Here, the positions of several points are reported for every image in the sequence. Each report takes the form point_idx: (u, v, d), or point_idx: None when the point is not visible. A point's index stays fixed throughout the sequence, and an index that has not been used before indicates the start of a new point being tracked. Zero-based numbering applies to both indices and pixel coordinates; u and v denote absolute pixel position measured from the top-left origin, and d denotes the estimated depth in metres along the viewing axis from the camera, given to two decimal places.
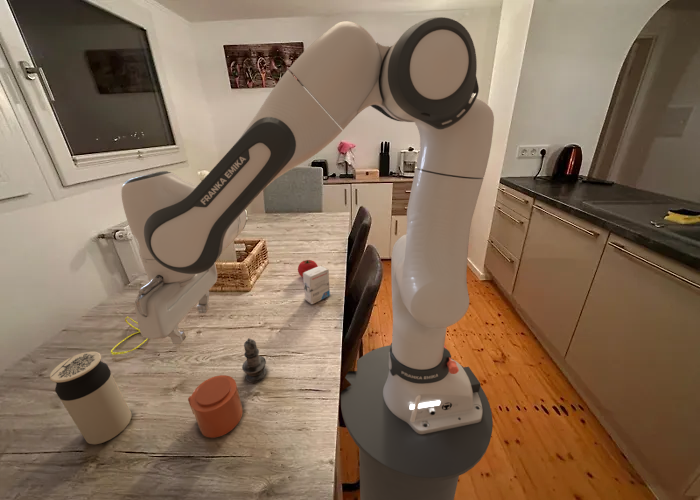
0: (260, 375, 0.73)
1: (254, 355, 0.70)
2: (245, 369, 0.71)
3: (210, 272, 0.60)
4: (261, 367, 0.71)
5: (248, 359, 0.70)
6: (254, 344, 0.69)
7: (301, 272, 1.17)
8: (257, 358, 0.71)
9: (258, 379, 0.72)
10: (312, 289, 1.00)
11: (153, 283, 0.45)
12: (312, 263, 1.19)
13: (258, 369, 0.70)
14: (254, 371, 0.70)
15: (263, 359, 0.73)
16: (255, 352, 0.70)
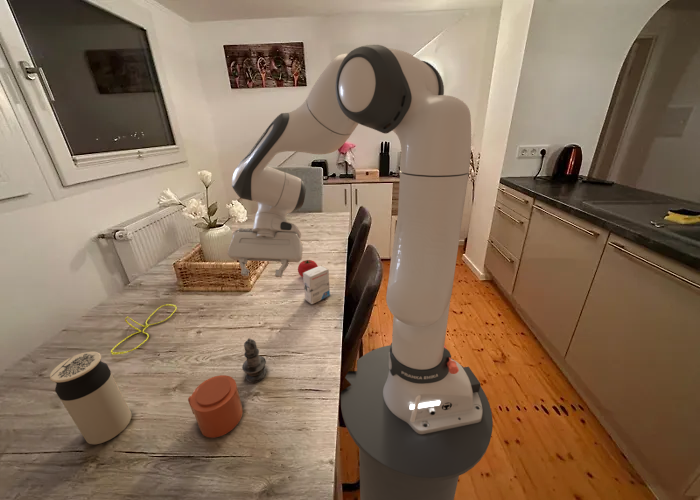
0: (260, 375, 0.73)
1: (254, 355, 0.70)
2: (245, 369, 0.71)
3: (291, 246, 0.75)
4: (261, 367, 0.71)
5: (248, 359, 0.70)
6: (254, 344, 0.69)
7: (301, 272, 1.17)
8: (257, 358, 0.71)
9: (258, 379, 0.72)
10: (312, 289, 1.00)
11: None
12: (312, 263, 1.19)
13: (258, 369, 0.70)
14: (254, 371, 0.70)
15: (263, 359, 0.73)
16: (255, 352, 0.70)
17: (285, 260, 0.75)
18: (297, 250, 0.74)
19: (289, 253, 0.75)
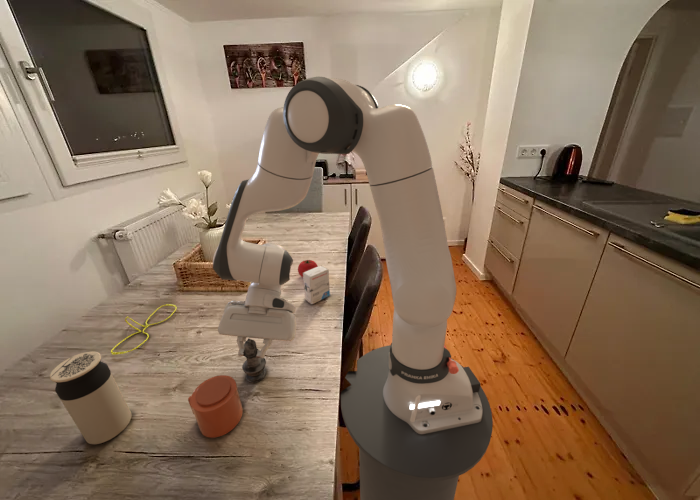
0: (260, 375, 0.73)
1: (254, 355, 0.70)
2: (245, 369, 0.71)
3: (283, 326, 0.71)
4: (261, 367, 0.71)
5: (248, 359, 0.70)
6: (254, 344, 0.69)
7: (301, 272, 1.17)
8: (257, 358, 0.71)
9: (258, 379, 0.72)
10: (312, 289, 1.00)
11: (239, 301, 0.76)
12: (312, 263, 1.19)
13: (258, 369, 0.70)
14: (254, 371, 0.70)
15: (263, 359, 0.73)
16: (255, 352, 0.70)
17: (268, 340, 0.71)
18: (289, 331, 0.70)
19: (280, 333, 0.70)
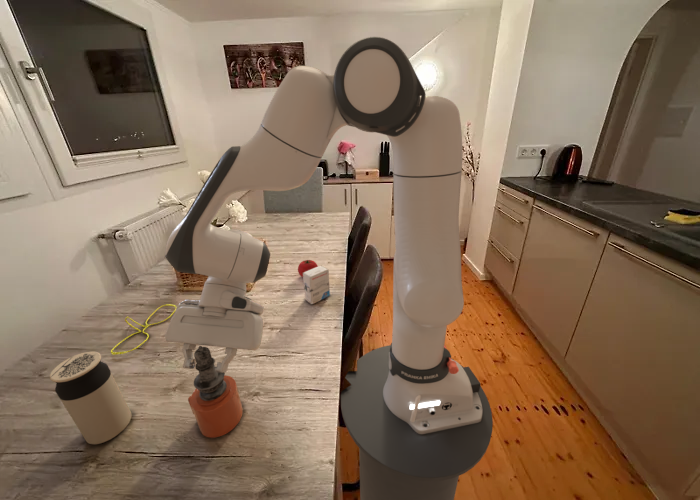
0: (217, 391, 0.58)
1: (207, 367, 0.55)
2: (197, 384, 0.56)
3: (244, 331, 0.56)
4: (217, 382, 0.57)
5: (200, 372, 0.56)
6: (207, 353, 0.55)
7: (301, 272, 1.17)
8: (212, 370, 0.57)
9: (214, 396, 0.58)
10: (312, 289, 1.00)
11: (193, 300, 0.62)
12: (312, 263, 1.19)
13: (213, 385, 0.56)
14: (207, 387, 0.56)
15: None
16: (209, 363, 0.56)
17: (231, 349, 0.56)
18: (251, 337, 0.55)
19: (241, 341, 0.56)
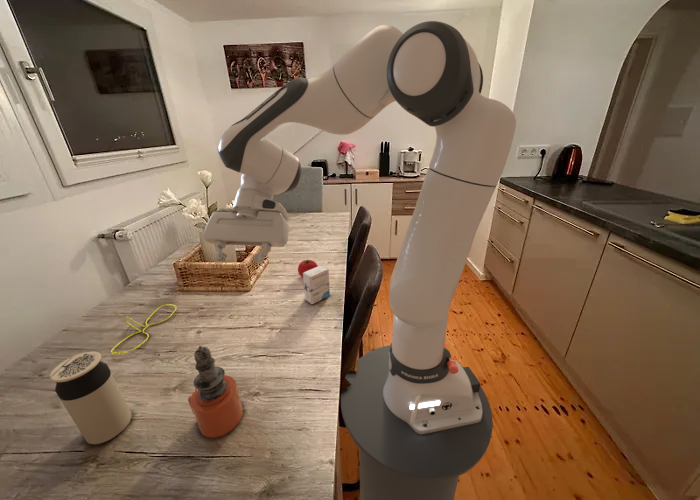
0: (217, 391, 0.58)
1: (207, 367, 0.55)
2: (197, 384, 0.56)
3: (273, 228, 0.64)
4: (217, 382, 0.57)
5: (200, 372, 0.56)
6: (207, 353, 0.55)
7: (301, 272, 1.17)
8: (212, 370, 0.57)
9: (214, 396, 0.58)
10: (312, 289, 1.00)
11: None
12: (312, 263, 1.19)
13: (213, 385, 0.56)
14: (207, 387, 0.56)
15: (221, 371, 0.59)
16: (209, 363, 0.56)
17: (266, 243, 0.64)
18: (280, 232, 0.64)
19: (271, 235, 0.64)
